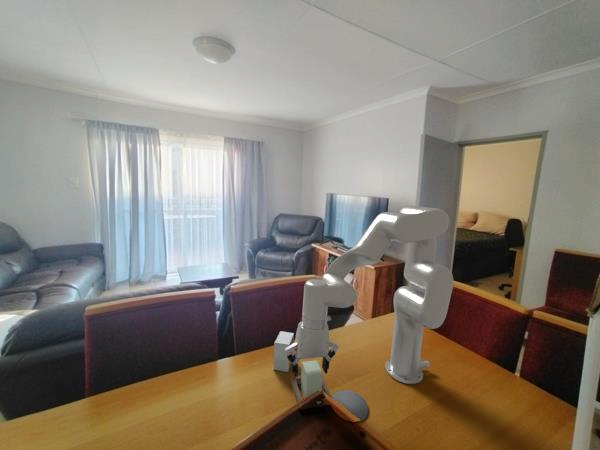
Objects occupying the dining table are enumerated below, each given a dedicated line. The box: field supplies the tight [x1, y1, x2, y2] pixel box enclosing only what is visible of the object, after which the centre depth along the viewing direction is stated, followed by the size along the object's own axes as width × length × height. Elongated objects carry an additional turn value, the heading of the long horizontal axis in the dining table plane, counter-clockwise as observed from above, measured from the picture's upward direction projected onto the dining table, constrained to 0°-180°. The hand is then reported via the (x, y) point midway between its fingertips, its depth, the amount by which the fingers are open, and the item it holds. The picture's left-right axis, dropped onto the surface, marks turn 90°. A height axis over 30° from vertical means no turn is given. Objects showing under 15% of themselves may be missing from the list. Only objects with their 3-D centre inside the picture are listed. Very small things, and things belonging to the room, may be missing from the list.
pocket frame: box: [290, 374, 333, 405], centre depth 81 cm, size 10×11×2 cm
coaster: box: [331, 389, 369, 421], centre depth 77 cm, size 11×11×1 cm
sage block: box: [300, 359, 324, 398], centre depth 80 cm, size 5×6×9 cm
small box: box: [273, 330, 295, 373], centre depth 93 cm, size 8×6×10 cm
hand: (310, 372), depth 80 cm, fingers open, 9 cm apart
